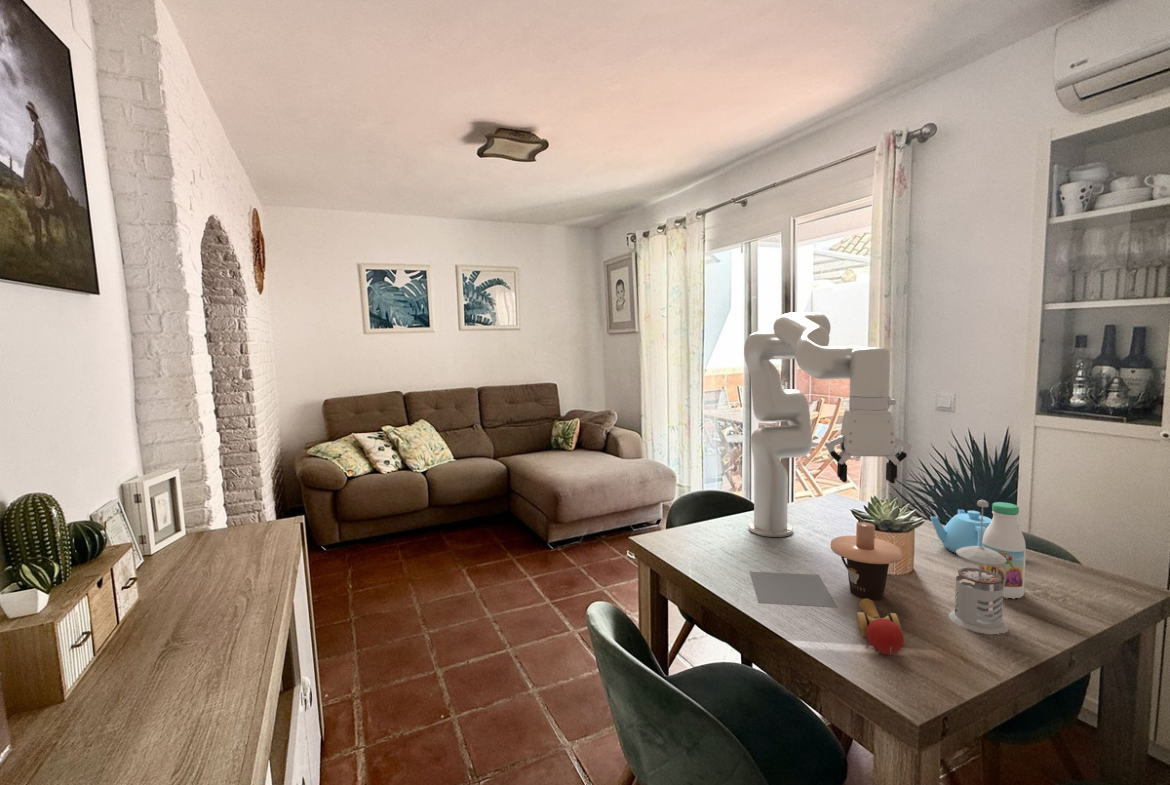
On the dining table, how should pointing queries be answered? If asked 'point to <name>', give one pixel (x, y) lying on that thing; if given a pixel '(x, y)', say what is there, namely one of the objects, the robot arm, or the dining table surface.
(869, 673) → the dining table surface
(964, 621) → the french press
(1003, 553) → the milk bottle
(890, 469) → the robot arm
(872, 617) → the kendama
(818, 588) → the mat
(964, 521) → the teapot
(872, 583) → the coffee mug
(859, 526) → the lid
